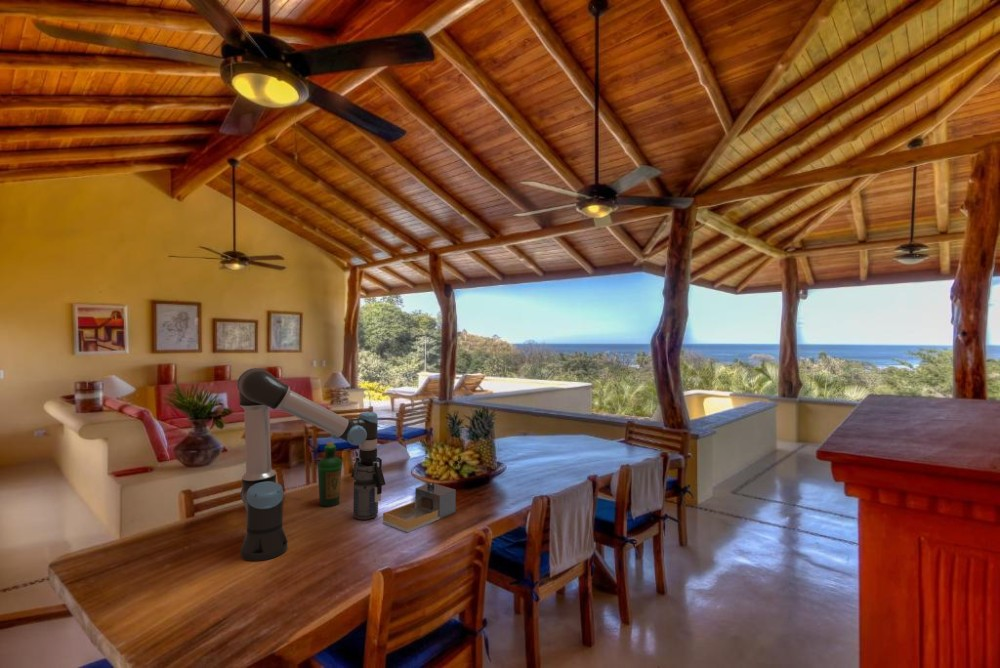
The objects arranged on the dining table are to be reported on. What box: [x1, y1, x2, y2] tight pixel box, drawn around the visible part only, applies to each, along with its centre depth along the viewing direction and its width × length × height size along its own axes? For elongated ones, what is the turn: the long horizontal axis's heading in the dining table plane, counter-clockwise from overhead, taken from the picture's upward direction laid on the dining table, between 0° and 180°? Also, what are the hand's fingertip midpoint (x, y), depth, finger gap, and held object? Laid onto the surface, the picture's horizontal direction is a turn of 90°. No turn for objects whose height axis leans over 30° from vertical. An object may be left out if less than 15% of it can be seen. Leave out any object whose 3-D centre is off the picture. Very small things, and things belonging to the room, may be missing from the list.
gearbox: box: [382, 481, 457, 533], centre depth 205 cm, size 28×15×12 cm, turn 143°
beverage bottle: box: [352, 456, 383, 521], centre depth 206 cm, size 10×13×25 cm
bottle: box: [317, 441, 343, 507], centre depth 220 cm, size 11×11×28 cm
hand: (367, 497), depth 206 cm, fingers open, 13 cm apart
